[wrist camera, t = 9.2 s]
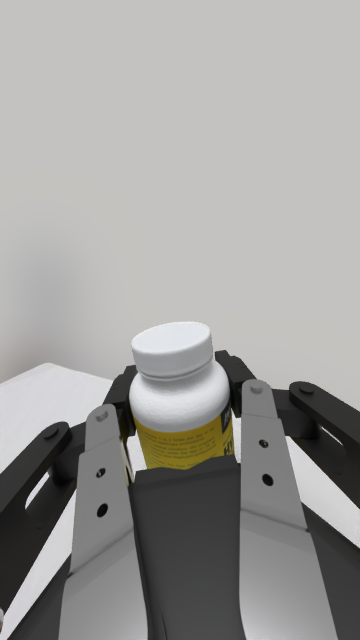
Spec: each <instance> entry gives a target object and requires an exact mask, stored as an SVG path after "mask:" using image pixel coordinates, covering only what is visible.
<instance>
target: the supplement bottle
mask: <svg viewBox="0 0 360 640" xmlns="http://www.w3.org/2000/svg"><path fill="white" fill-rule="evenodd" d="M131 347H132V352H133V356H134V360H135V365H136V368H137V371H138V373H137V375H136V376H135V378H134V379H133V381H132V384H131V386H130V392H129V400H130V406H131V411H132V414H133V418H134V422H135V425H136V429H137V433H138V437H139V440H140V444H141V448H142V451H143V455H144V459H145V462H146V466H147V469H151V468H157V467H165V468H174V469H182V470H186V469H189V468H191V467H193V466H195V465H197V464H199V463H201V462H203V461H205V460H207V459H209V458H213V457H218V456H224V455H229V454H234V455H235V453H234V439H233V426H232V412H231V395H230V387H229V380H228V377H227V374H226V372H225V370H224V369H223V367H222V366H221V365H220V364H219V363H218V362H217V361H215V360H214V359H212V358H213V346H212V338H211V331H210V329H209V328H208V327H207V326H206V325H204V324H201V323H197V322H173V323H166V324H162V325H158V326H155V327H152V328H149V329H147V330H145V331H143V332H141V333H139V334H138V335H137V336H135V337H134V339H133V340H132V343H131Z"/></svg>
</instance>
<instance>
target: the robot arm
mask: <svg viewBox="0 0 360 640" xmlns="http://www.w3.org/2000/svg"><path fill="white" fill-rule="evenodd" d="M215 361H217V362H218V363H219V364H220V365H221V366H222V367H223V369H224V370H225V372H226V374H227V377H228V380H229V387H230V395H231V408H232V410H233V412H234V415H235V417H236V418H240V417H241V463H237V461H236V458H235V455H234V454H229V455H224V456H218V457H213V458H209V459H207V460H205V461H203V462H201V463H199V464H197V465H195V466H193V467H191V468H189V469H186V470H182V469H174V468H165V467H157V468H151V469H146V470H140V471H136V474H135V479H134V474H133V469H132V465H131V460H130V455H129V450H128V446H127V439H128V437H130V436H135V433H136V425H135V422H134V418H133V414H132V411H131V406H130V400H129V392H130V386H131V384H132V381H133V379H134V378H135V376H136V375H137V373H138V371H137V368H136V365H131V366H127V367H126V369H125V371H124V373H123V374H121V375H119V376H118V377H117V378H116V379H115V380H114V382H113V384H112V386H111V388H110V391H109V392H108V394H107V396H106V398H105V400H104V402H103V404H102V405H101V406H99V407H97V408H96V409H94V410H93V411H92V412H91V413H90V414H89V415H88V417H87V420H86V422H83V423H81V424H79V425H76V426H74V427H71V428H70V427H69V425H68V423H67V422H57V423H55V424H52V425H50V426H49V427H47V428H46V429H44V430H43V431H42V432H41V433H40V434H39V435H38V436H37V437H36V438H35V439H34V440H33V441H32V442H31V443H30V444H29V445H28V446H27V447H26V448H25V449H24V450H23V451H22V452H21V453H20V454H19V455H18V456H17V457H16V458H15V459H14V460H13V462H12V463H11V464H10V465H9V466H8V467H7V468H6V469H5V470H4V471H3V472H2V473H1V474H0V633H1V630H2V625H3V618H4V615H5V613H6V612H7V610H8V608H9V606H10V605H11V603H12V601H13V599H14V597H15V596H16V594H17V592H18V590H19V589H20V587H21V585H22V583H23V582H24V580H25V578H26V576H27V574H28V573H29V571H30V569H31V567H32V566H33V564H34V562H35V560H36V559H37V557H38V555H39V553H40V551H41V550H42V548H43V546H44V544H45V543H46V541H47V539H48V537H49V536H50V534H51V532H52V530H53V529H54V527H55V525H56V523H57V521H58V520H59V518H60V516H61V514H62V513H63V511H64V509H65V507H66V506H67V504H68V502H69V500H70V498H71V497H72V495H73V493H74V491H75V490H76V488H77V491H76V503H75V516H74V529H73V542H72V552H71V554H70V555H69V557H68V558H67V559H66V561H65V562H64V563H63V565H62V566H61V567H60V569H59V570H58V571H57V573H56V574H55V575H54V577H53V578H52V579H51V581H50V582H49V584H48V585H47V586H46V588H45V589H44V590H43V592H42V593H41V594H40V596H39V597H38V598H37V600H36V601H35V602H34V604H33V605H32V607H31V608H30V609H29V611H28V612H27V613H26V615H25V616H24V617H23V619H22V620H21V621H20V623H19V624H18V625H17V627H16V628H15V630H14V631H13V632H12V634H11V635H10V636H9V638H8V639H7V640H360V548H358V547H357V546H356V545H355V544H353V543H352V542H351V541H350V540H348V539H347V538H346V537H345V536H343V535H342V534H341V533H340V532H338V531H337V530H336V529H335V528H333V527H332V526H331V525H330V524H328V523H327V522H326V521H325V520H323V519H322V518H321V517H320V516H318V515H317V514H316V513H315V512H313V511H312V510H311V509H310V508H308V507H307V506H306V505H305V504H303V503H302V502H301V500H300V496H299V492H298V488H297V484H296V480H295V475H294V471H293V467H292V463H291V459H290V455H289V450H288V446H287V442H286V438H285V436H290V437H291V439H292V440H293V441H294V442H295V443H296V444H297V445H298V446H299V447H300V448H301V449H302V450H303V451H304V452H305V453H306V454H307V455H308V456H309V457H310V458H311V459H312V460H313V461H314V462H315V464H316V465H317V466H318V467H319V468H320V469H321V470H322V471H323V472H324V473H325V474H326V475H327V476H328V477H329V478H330V479H331V480H332V481H333V482H334V483H335V484H336V485H337V486H338V487H339V488H340V489H341V490H342V491H343V492H344V493H345V494H346V496H347V497H348V498H349V499H350V500H351V501H352V502H353V503H354V504H355V505H356V506H357V507H358V508H359V509H360V412H359V411H358V410H356V409H354V408H353V407H351V406H349V405H348V404H346V403H344V402H343V401H341V400H339V399H338V398H336V397H334V396H333V395H331V394H329V393H328V392H326V391H325V390H323V389H321V388H320V387H318V386H316V385H314V384H311V383H308V382H302V381H298V382H293V383H291V384H290V386H289V390H280V389H278V390H277V389H272V388H271V387H270V386H269V385H268V384H267V383H266V382H263V381H261V380H257V379H256V377H255V376H254V375H253V374H252V372H251V371H250V370H249V369H248V368H247V366H246V365H245V364H244V363H243V361H242V360H241V359H240V358H238V357H236V356H230V355H229V354H228V352H227V351H226V350H222V351H216V352H215ZM322 427H323V428H324V429H326V430H327V431H328V432H329V433H331V434H332V435H333V436H334V437H336V438H337V439H338V440H339V441H340V442H341V443H342V445H341V444H340V443H339V442H338V441H336V440H335V439H334V438H333V437H332V436H330V435H329V434H328V433H327V432H325V431H324V430H323V429H322ZM46 472H48V474H49V478H48V479H47V481H46V482H45V483H44V485H43V486H42V488H41V489H40V490H39V492H38V493H37V494H36V496H35V497H34V499H33V500H32V501H31V503H30V504H29V506H28V507H27V508H26V510H25V505H26V501H27V498H28V496H29V495H30V493H31V492H32V490H33V489H34V488H35V486H36V485H37V484H38V482H39V481H40V480H41V478H42V477H43V476H44V474H45V473H46Z"/></svg>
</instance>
